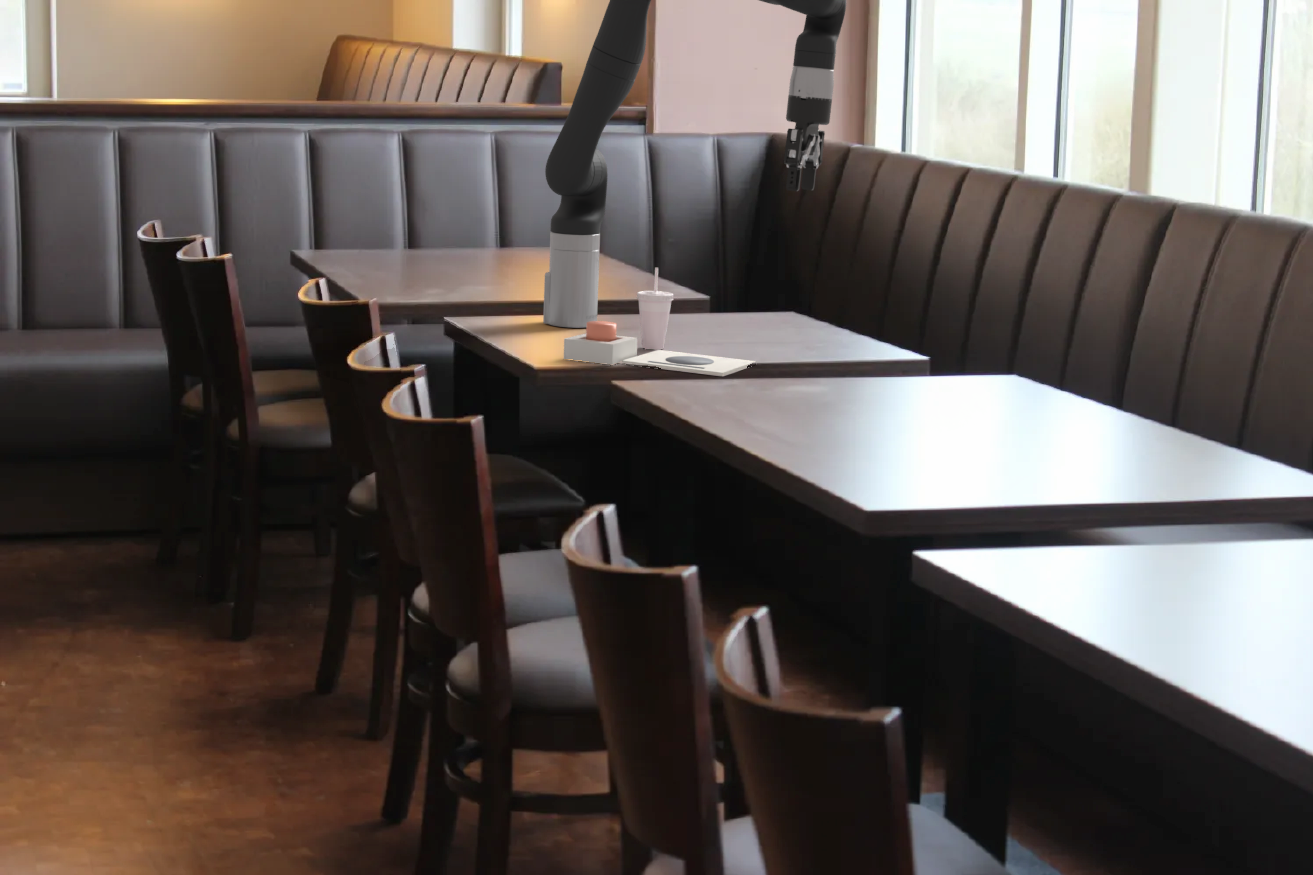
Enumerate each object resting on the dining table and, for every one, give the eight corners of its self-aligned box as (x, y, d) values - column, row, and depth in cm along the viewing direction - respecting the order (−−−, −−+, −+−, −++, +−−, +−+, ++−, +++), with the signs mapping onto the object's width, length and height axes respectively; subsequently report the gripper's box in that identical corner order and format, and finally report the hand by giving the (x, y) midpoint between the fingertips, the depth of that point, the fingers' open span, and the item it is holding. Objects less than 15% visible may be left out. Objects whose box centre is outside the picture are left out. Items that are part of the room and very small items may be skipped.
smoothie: (672, 346, 299) (676, 267, 296) (669, 352, 293) (673, 271, 290) (636, 344, 300) (639, 265, 297) (632, 350, 294) (635, 269, 291)
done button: (580, 344, 281) (581, 323, 281) (594, 340, 286) (595, 320, 285) (607, 347, 279) (608, 326, 279) (621, 344, 284) (622, 323, 283)
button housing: (563, 359, 281) (564, 338, 280) (589, 352, 289) (589, 332, 288) (612, 365, 277) (613, 344, 277) (636, 358, 285) (637, 337, 284)
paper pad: (621, 364, 279) (622, 359, 279) (658, 353, 292) (658, 349, 292) (722, 376, 272) (722, 372, 272) (756, 364, 284) (756, 360, 284)
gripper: (802, 95, 300) (792, 187, 303) (776, 92, 287) (766, 188, 290) (843, 98, 298) (832, 192, 301) (819, 96, 285) (808, 193, 288)
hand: (800, 190), depth 296 cm, fingers open, 8 cm apart
